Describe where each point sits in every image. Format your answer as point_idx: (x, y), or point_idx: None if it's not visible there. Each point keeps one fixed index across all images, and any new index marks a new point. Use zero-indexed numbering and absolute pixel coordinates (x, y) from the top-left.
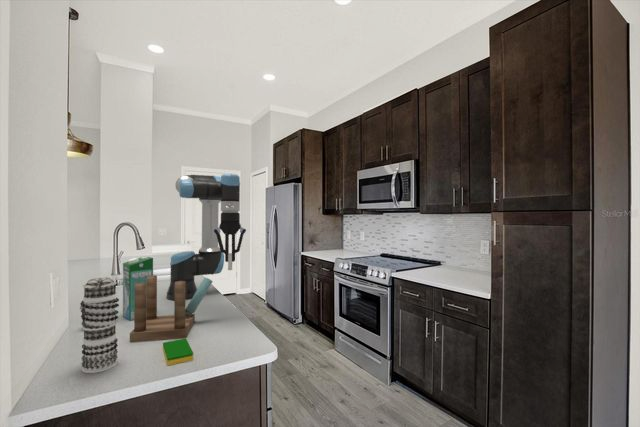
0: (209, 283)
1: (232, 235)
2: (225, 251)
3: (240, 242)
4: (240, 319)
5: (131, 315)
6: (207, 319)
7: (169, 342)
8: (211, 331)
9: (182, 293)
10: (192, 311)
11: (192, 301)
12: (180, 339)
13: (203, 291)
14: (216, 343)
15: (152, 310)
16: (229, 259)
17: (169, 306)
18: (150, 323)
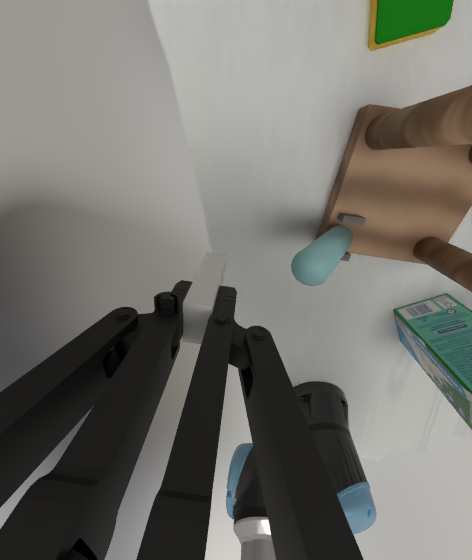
0: (305, 248)
1: (59, 519)
2: (230, 327)
3: (36, 376)
4: (209, 216)
5: (451, 300)
6: (285, 244)
7: (433, 10)
8: (287, 142)
9: (465, 88)
10: (334, 227)
11: (345, 236)
12: (395, 32)
13: (320, 239)
14: (287, 16)
15: (445, 245)
16: (209, 284)
17: (348, 354)
18: (442, 203)
